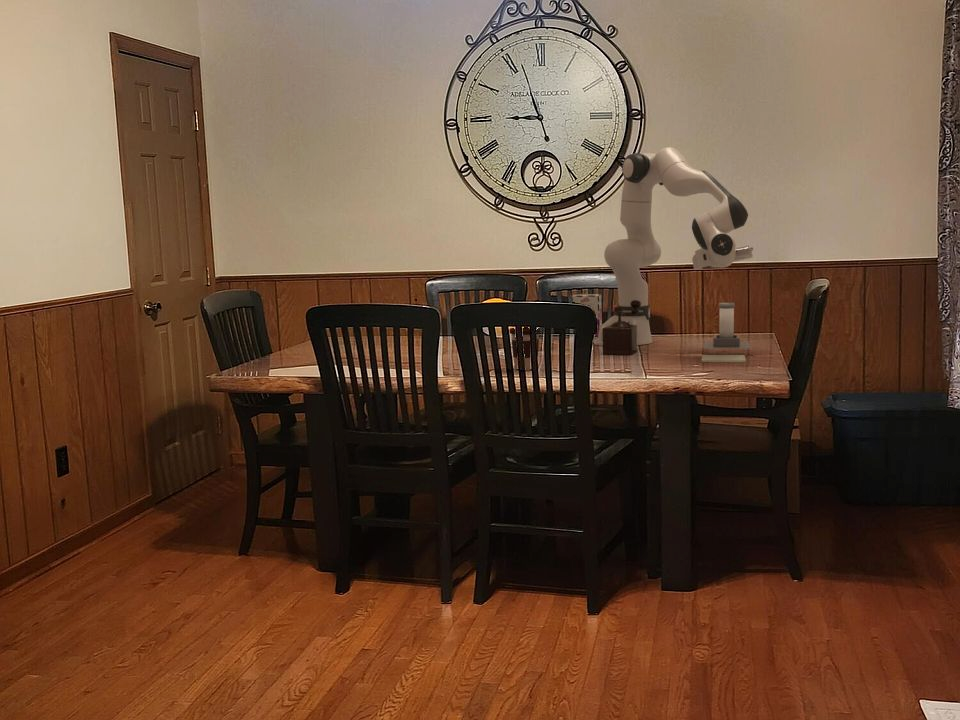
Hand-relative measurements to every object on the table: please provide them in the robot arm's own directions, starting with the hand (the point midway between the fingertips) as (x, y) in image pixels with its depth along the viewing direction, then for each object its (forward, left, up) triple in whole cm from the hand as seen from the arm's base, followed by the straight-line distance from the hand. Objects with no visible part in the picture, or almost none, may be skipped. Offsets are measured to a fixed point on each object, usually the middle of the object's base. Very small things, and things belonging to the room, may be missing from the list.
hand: (722, 262), depth 367 cm
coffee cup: (-62, -44, -31) cm, 83 cm away
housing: (+2, +4, -31) cm, 31 cm away
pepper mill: (-34, -6, -31) cm, 47 cm away
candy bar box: (-52, +36, -31) cm, 71 cm away
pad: (+1, -21, -31) cm, 38 cm away
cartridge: (+2, +4, -30) cm, 30 cm away
